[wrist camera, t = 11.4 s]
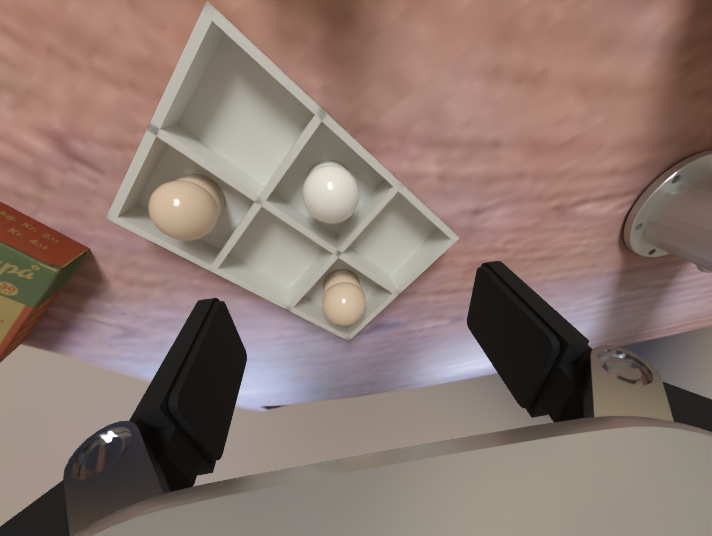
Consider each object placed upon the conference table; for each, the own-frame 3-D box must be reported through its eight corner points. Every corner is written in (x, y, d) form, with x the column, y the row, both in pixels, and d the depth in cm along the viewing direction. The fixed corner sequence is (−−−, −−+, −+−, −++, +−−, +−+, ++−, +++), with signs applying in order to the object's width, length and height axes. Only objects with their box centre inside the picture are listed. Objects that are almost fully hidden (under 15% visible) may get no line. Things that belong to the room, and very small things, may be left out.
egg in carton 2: (369, 280, 31) (379, 314, 27) (343, 306, 33) (349, 342, 28) (338, 260, 29) (343, 292, 25) (312, 288, 31) (312, 323, 26)
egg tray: (445, 224, 29) (459, 238, 27) (345, 320, 35) (348, 341, 32) (223, 15, 19) (206, 1, 16) (131, 203, 24) (105, 218, 21)
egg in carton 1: (236, 190, 24) (218, 213, 19) (216, 230, 26) (195, 261, 21) (181, 159, 22) (146, 176, 18) (163, 205, 24) (126, 232, 19)
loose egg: (364, 179, 25) (376, 199, 20) (333, 217, 27) (337, 243, 22) (324, 145, 23) (327, 158, 18) (293, 187, 25) (288, 209, 20)
